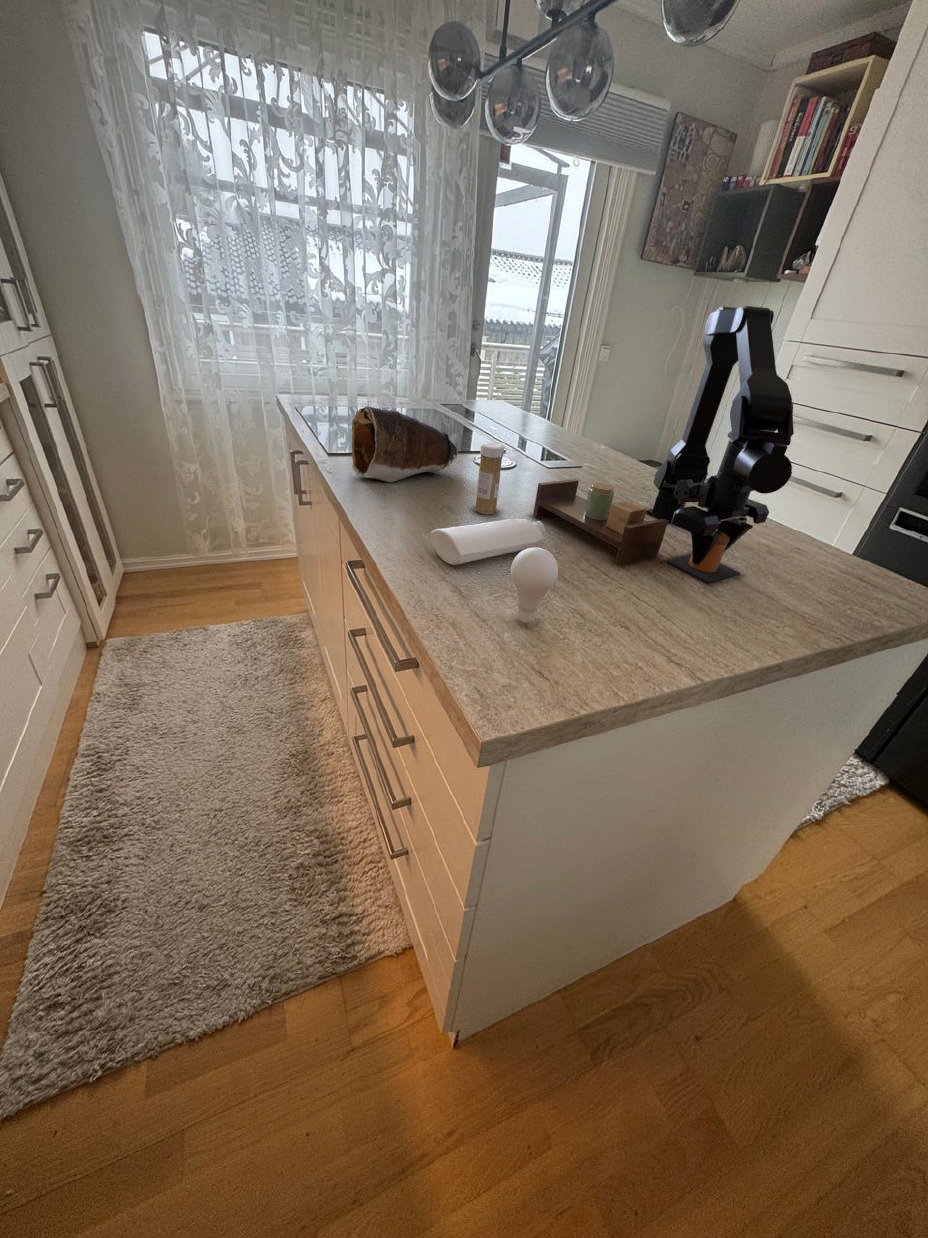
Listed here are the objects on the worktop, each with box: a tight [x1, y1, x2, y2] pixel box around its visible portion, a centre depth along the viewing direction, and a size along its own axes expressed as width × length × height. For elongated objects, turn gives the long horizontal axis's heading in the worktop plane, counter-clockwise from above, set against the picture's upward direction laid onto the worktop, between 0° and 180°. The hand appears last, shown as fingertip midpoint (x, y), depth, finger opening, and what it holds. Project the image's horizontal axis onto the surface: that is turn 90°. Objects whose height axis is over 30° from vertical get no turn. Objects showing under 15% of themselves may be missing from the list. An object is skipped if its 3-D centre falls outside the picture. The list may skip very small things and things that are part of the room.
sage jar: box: [584, 482, 615, 520], centre depth 97 cm, size 5×5×6 cm
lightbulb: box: [510, 546, 559, 624], centre depth 68 cm, size 6×6×11 cm
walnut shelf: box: [532, 478, 669, 566], centre depth 99 cm, size 10×24×7 cm, turn 32°
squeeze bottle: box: [430, 518, 546, 566], centre depth 89 cm, size 10×20×5 cm, turn 122°
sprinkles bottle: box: [474, 442, 505, 515], centre depth 103 cm, size 5×5×13 cm
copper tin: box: [689, 531, 730, 572], centre depth 90 cm, size 5×5×6 cm
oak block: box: [606, 500, 648, 534], centre depth 93 cm, size 4×4×4 cm
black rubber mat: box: [665, 553, 741, 585], centre depth 92 cm, size 9×9×1 cm
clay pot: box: [351, 406, 459, 484], centre depth 121 cm, size 15×15×25 cm
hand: (704, 561), depth 91 cm, fingers closed on copper tin, 5 cm apart
